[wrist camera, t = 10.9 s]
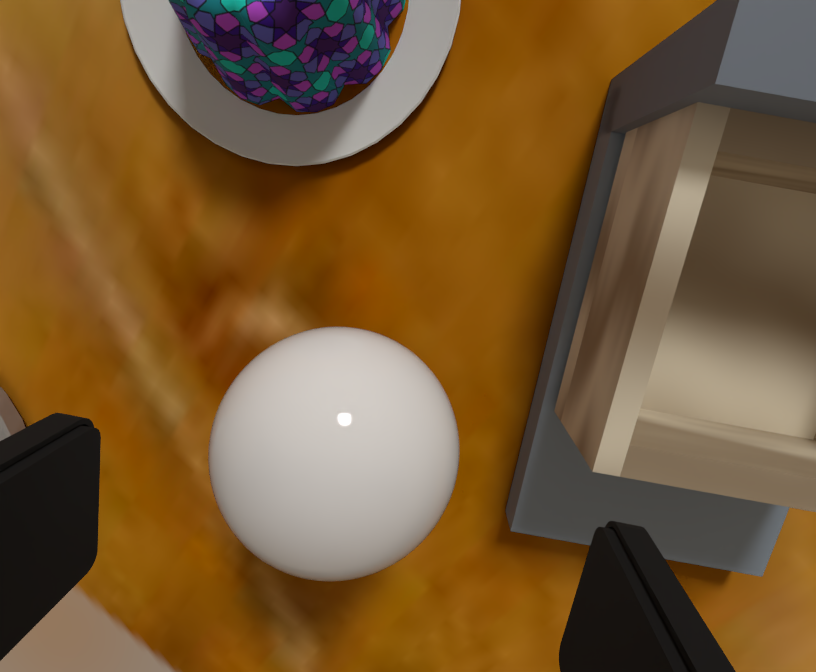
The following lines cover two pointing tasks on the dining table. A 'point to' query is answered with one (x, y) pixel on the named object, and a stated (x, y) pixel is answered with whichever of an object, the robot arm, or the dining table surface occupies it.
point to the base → (624, 111)
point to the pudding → (291, 69)
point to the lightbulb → (333, 454)
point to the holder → (703, 311)
